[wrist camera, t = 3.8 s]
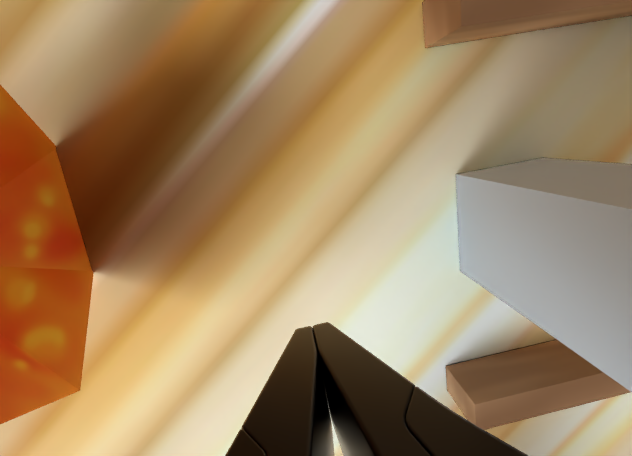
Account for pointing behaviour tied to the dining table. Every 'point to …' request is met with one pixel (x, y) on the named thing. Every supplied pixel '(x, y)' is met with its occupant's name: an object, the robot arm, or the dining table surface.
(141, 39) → the dining table surface
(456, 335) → the dining table surface
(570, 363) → the rail pen
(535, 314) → the long block
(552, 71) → the dining table surface
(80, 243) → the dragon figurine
